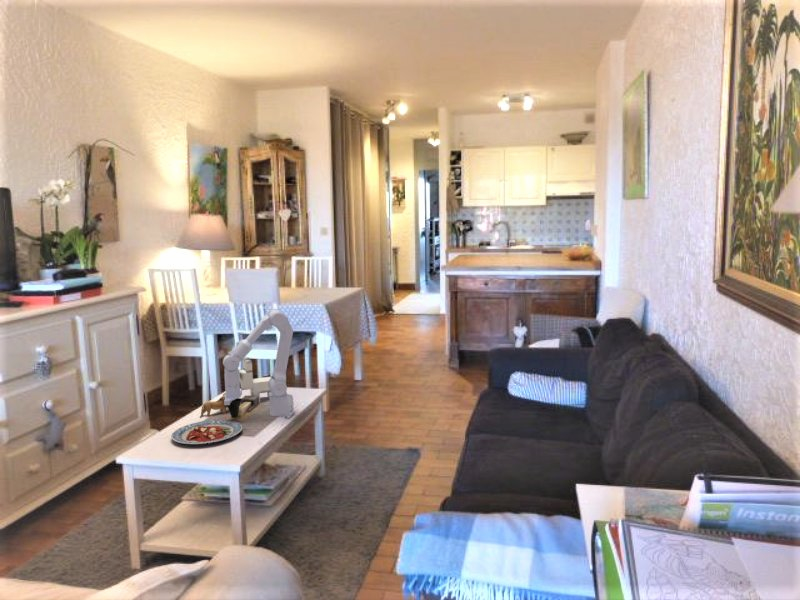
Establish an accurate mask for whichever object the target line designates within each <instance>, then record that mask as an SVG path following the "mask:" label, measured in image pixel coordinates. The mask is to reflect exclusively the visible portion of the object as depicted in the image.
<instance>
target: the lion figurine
mask: <svg viewBox="0 0 800 600" xmlns="http://www.w3.org/2000/svg"><path fill="white" fill-rule="evenodd" d="M225 394H226V392H224V393H223V394H222V396H220V398H219V399H218V400H216V401H206V402H205V403H203V405H202V406H201V412H200V416H199V419H202V417H204V414H205V413H206V412H207V414H206V416H207V417H211V411H212V410H213V411H218V410H219V411H220V413H223V415H225V414H226V412H227V408H228V407H227V405H224V400H225V397H223V395H225Z"/></svg>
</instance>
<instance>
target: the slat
mask: <svg viewBox="0 0 800 600" xmlns="http://www.w3.org/2000/svg"><path fill="white" fill-rule="evenodd" d="M251 407H252V404H251V402H244V403H243V404H242V405H241V404H240V406H239V412H238V416H243V415H244V414H245V413H246V412H247V411H248V409H250V408H251Z"/></svg>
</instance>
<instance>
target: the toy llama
mask: <svg viewBox="0 0 800 600" xmlns="http://www.w3.org/2000/svg"><path fill="white" fill-rule="evenodd" d="M238 372H239V380H240V390H242V391H246V390H249V391H250V396H259V404H261V394H265V393H266V394H267V398H268V399H269V393H270V391H271V389H270V388H269V386H268V382H269V380H270V379H271V377H272V375H271V376H265V377H258V378H254V374H253V373H254V371H253V361H252V359H250V358H249V357H245V358H244V359H243V360H242V369H238Z"/></svg>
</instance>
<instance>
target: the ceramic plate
mask: <svg viewBox="0 0 800 600" xmlns="http://www.w3.org/2000/svg"><path fill="white" fill-rule="evenodd" d="M221 427H224V428H221ZM242 430H243V425H242V424H241V423H240V422H237V421H229V420H224V419H211V420H205V421H203V420H202V421H198V422H193V423H189V424H186V425H184V426H180V427H179V428H177V429H175V430H174V431H173V432H172V433H171V436H170V437H171V440H173V442H176V443H177V444H178V443H179V444H185V445H207V443H208V444H212V443H213V442H214V443H217V442H221V441H224V440H228V439H231V438H232V437H235V436H237V435H238V434H239V433H241V432H242Z"/></svg>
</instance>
